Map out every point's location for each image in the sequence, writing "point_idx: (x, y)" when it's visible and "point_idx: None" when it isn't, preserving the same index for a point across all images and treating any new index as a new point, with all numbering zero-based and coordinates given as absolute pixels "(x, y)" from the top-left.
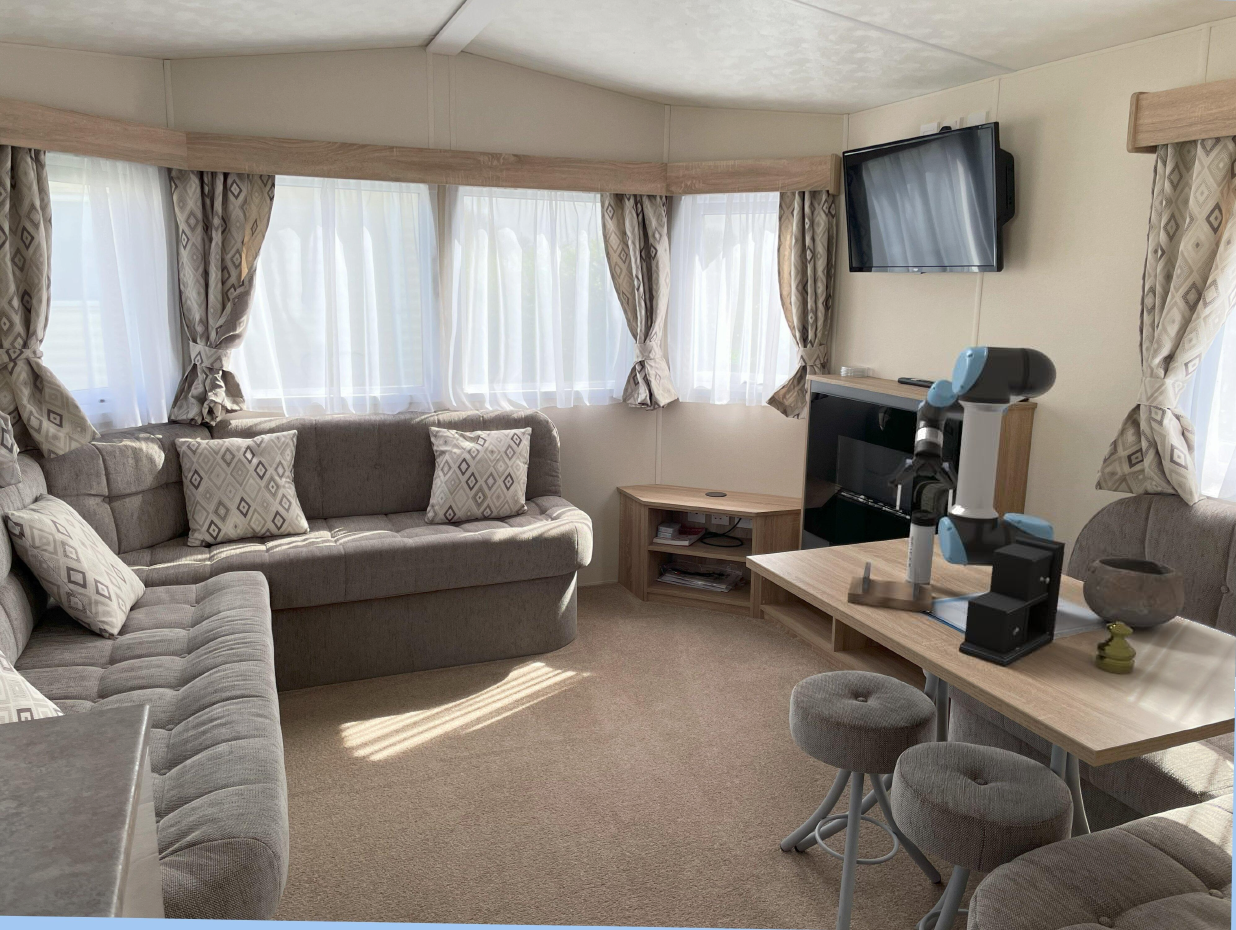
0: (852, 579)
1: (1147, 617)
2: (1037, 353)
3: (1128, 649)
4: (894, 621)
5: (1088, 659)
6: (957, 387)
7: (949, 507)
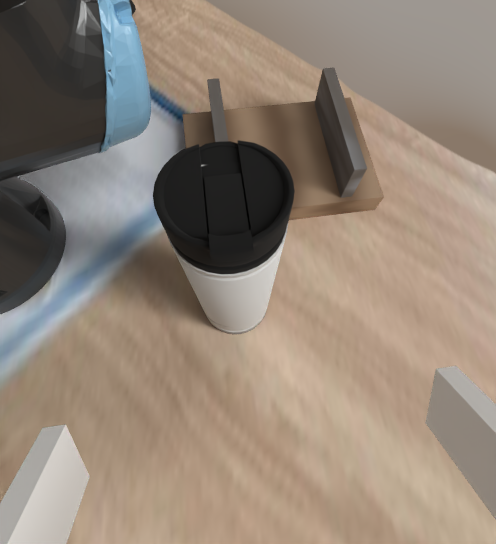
0: (373, 174)
1: None
2: None
3: None
4: (242, 69)
5: None
6: None
7: (50, 442)
